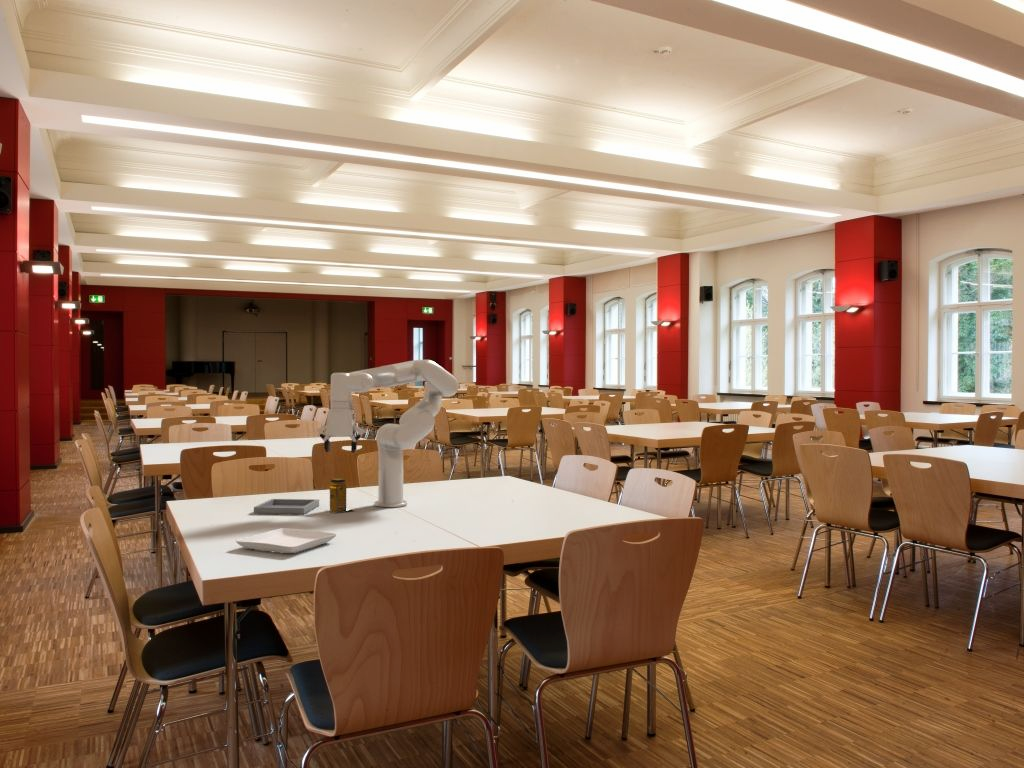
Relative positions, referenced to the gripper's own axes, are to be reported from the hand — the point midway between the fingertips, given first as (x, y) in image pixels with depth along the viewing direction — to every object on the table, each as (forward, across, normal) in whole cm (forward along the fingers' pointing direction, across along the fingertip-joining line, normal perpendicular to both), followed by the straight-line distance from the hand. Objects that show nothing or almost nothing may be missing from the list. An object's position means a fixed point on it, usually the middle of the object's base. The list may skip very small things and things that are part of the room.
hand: (340, 451), depth 285 cm
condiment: (+22, 0, 0) cm, 22 cm away
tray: (+22, +20, 0) cm, 30 cm away
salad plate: (+23, 0, +58) cm, 62 cm away
